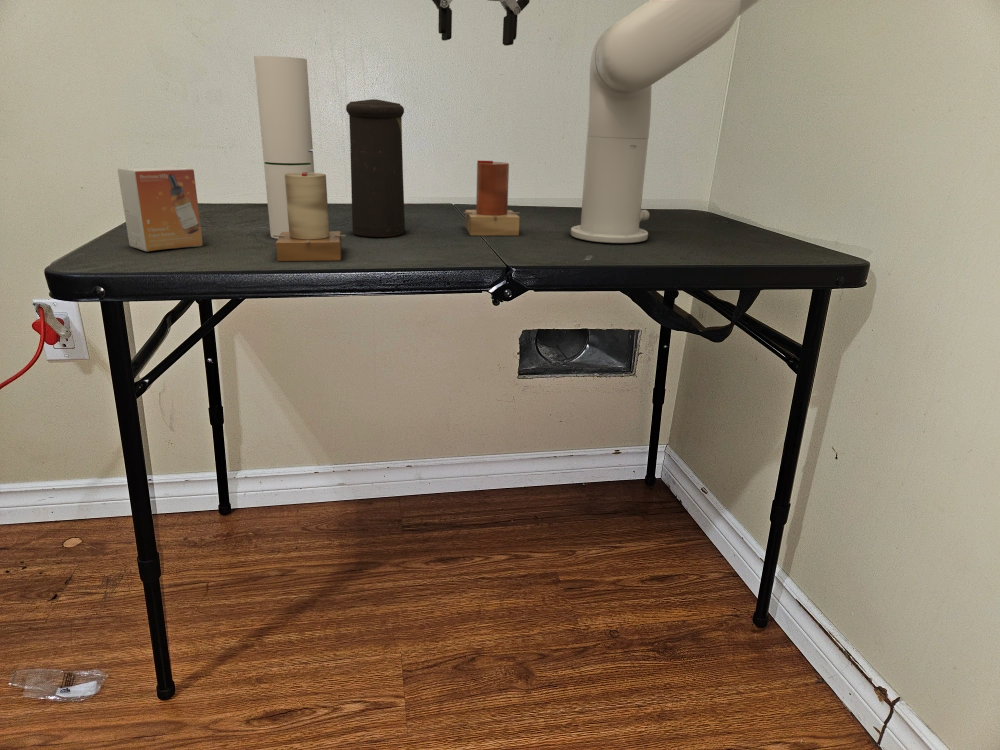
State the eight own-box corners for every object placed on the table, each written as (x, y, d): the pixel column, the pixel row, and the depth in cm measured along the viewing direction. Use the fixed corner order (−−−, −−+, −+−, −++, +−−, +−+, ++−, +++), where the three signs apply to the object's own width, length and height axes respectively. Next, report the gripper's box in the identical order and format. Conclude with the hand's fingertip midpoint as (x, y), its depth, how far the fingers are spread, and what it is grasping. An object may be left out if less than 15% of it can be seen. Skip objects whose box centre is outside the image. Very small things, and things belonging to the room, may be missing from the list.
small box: (145, 253, 90) (132, 170, 86) (128, 246, 94) (115, 167, 90) (204, 246, 96) (194, 168, 92) (186, 240, 99) (176, 165, 95)
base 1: (278, 248, 96) (276, 229, 95) (346, 247, 98) (345, 229, 97) (271, 262, 87) (269, 241, 86) (346, 261, 89) (345, 241, 88)
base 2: (460, 226, 118) (460, 208, 117) (514, 226, 119) (514, 208, 118) (466, 236, 109) (466, 216, 108) (523, 236, 111) (524, 216, 110)
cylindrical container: (324, 232, 108) (313, 60, 99) (308, 240, 102) (295, 56, 93) (281, 230, 109) (266, 59, 100) (262, 238, 102) (245, 55, 93)
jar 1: (291, 232, 93) (286, 169, 90) (330, 232, 94) (326, 170, 91) (288, 239, 89) (282, 173, 86) (329, 239, 90) (324, 174, 87)
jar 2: (505, 210, 116) (506, 160, 113) (509, 215, 111) (511, 162, 108) (474, 210, 115) (475, 159, 112) (477, 215, 110) (478, 161, 107)
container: (416, 232, 111) (415, 100, 104) (386, 240, 104) (381, 99, 97) (372, 227, 115) (368, 99, 107) (339, 234, 107) (332, 97, 100)
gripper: (427, -109, 89) (426, 35, 96) (548, -91, 95) (540, 45, 101) (415, -95, 96) (415, 39, 102) (529, -79, 102) (522, 48, 108)
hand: (477, 42), depth 102 cm, fingers open, 9 cm apart
